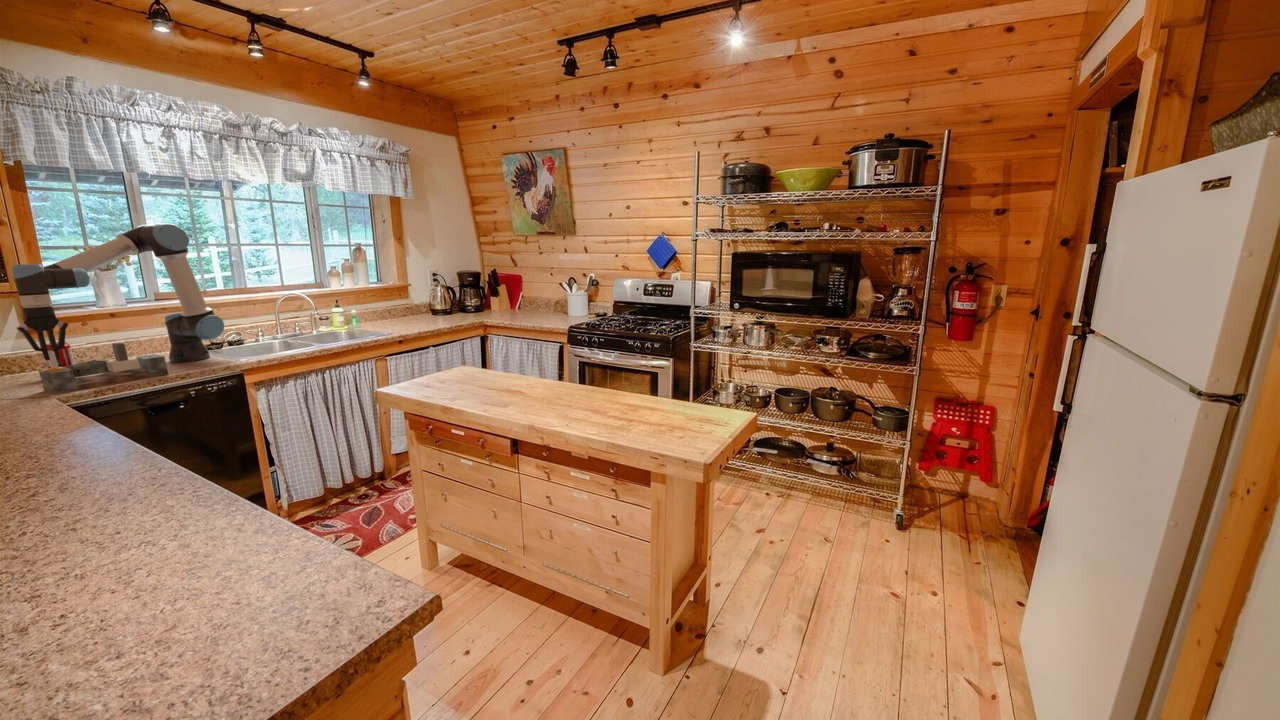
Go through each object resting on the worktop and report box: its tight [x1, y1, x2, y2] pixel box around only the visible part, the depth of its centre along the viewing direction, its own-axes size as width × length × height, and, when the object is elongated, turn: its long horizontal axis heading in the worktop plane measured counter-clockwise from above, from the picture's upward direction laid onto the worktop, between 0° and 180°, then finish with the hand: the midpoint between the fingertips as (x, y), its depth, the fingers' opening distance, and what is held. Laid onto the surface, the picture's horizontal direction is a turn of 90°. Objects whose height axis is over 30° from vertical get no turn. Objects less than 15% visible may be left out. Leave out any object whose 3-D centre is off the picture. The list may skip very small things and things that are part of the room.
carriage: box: [106, 341, 140, 372], centre depth 209 cm, size 8×7×11 cm
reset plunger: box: [45, 367, 65, 372], centre depth 194 cm, size 4×4×4 cm
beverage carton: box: [65, 359, 111, 377], centre depth 215 cm, size 8×19×7 cm, turn 9°
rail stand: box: [38, 353, 169, 396], centre depth 206 cm, size 34×11×8 cm, turn 150°
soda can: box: [45, 341, 76, 369], centre depth 217 cm, size 8×8×15 cm
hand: (54, 367), depth 194 cm, fingers closed
